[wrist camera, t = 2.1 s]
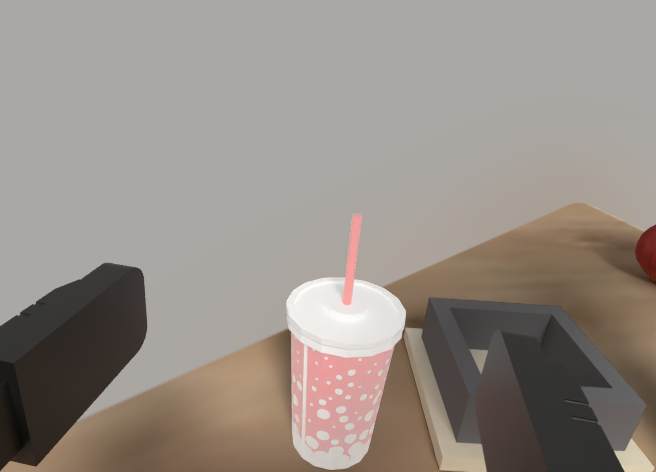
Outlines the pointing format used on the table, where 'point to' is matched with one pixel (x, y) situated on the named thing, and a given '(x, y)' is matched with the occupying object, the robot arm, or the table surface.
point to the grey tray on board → (468, 361)
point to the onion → (647, 252)
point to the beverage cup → (340, 361)
